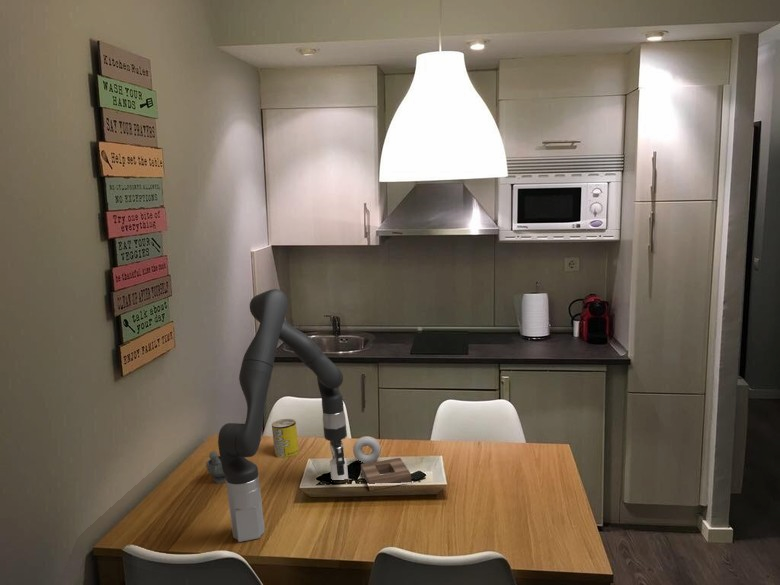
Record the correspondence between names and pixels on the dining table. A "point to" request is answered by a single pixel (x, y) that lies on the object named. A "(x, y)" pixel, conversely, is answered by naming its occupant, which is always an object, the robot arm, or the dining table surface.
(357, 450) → the donut
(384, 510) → the dining table surface
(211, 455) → the mortar and pestle
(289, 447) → the beverage can
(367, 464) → the walnut socket block
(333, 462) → the eye dropper bottle
